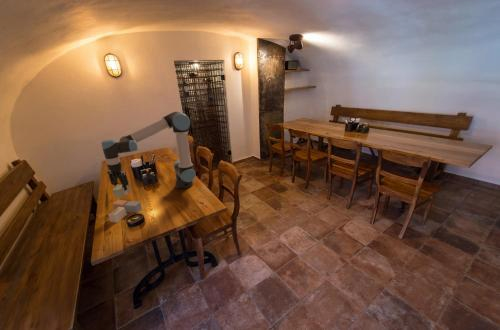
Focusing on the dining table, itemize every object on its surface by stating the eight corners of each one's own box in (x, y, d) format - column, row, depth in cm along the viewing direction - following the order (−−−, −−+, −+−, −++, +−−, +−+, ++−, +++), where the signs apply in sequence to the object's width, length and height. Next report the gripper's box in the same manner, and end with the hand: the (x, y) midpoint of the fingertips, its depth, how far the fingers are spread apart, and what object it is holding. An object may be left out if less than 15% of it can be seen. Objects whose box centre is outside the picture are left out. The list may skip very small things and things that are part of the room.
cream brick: (127, 214, 146) (124, 207, 143) (116, 222, 138) (114, 215, 135) (121, 214, 147) (118, 206, 144) (110, 221, 139) (108, 214, 136)
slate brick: (142, 208, 152) (140, 201, 149) (137, 212, 147) (135, 205, 145) (131, 208, 153) (129, 201, 151) (126, 211, 149) (124, 204, 146)
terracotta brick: (130, 207, 154) (128, 200, 151) (125, 211, 149) (122, 204, 147) (120, 206, 156) (117, 199, 153) (114, 210, 151) (112, 203, 149)
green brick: (130, 191, 149) (128, 184, 146) (120, 197, 141) (118, 190, 138) (124, 190, 150) (122, 183, 148) (114, 197, 142) (112, 189, 140)
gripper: (129, 162, 138) (137, 192, 146) (108, 160, 142) (116, 189, 151) (120, 166, 131) (129, 197, 140) (98, 164, 135) (107, 195, 144)
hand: (122, 193), depth 145 cm, fingers closed on green brick, 5 cm apart
